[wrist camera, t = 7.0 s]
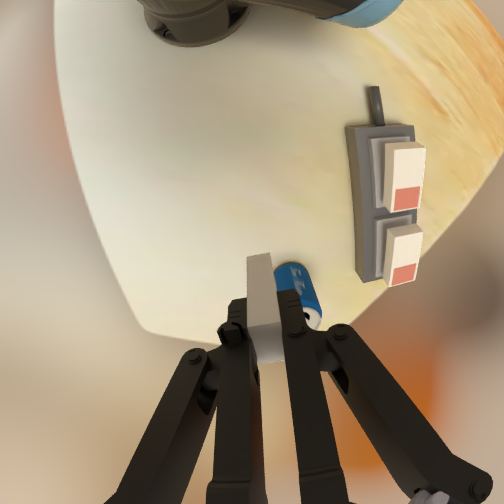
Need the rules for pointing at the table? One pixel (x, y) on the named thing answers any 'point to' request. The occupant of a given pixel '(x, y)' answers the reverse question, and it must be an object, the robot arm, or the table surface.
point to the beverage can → (300, 290)
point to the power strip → (373, 188)
